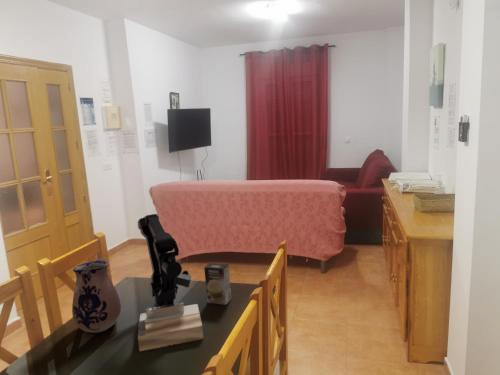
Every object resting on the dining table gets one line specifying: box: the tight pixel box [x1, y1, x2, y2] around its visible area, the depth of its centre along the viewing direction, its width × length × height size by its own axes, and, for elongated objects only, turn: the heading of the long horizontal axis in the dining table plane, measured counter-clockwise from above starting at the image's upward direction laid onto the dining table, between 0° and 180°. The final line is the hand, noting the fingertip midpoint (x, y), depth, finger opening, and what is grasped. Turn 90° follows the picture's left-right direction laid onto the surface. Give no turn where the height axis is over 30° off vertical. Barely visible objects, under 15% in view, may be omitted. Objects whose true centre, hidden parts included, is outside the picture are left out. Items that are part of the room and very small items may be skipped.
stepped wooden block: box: [137, 313, 204, 352], centre depth 138 cm, size 10×22×8 cm, turn 103°
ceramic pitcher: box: [71, 258, 122, 334], centre depth 150 cm, size 18×21×25 cm
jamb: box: [139, 303, 200, 323], centre depth 147 cm, size 8×22×5 cm, turn 103°
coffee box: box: [203, 261, 232, 306], centre depth 164 cm, size 9×6×16 cm
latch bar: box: [144, 302, 185, 319], centre depth 145 cm, size 14×3×3 cm, turn 103°
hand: (171, 307), depth 149 cm, fingers closed
